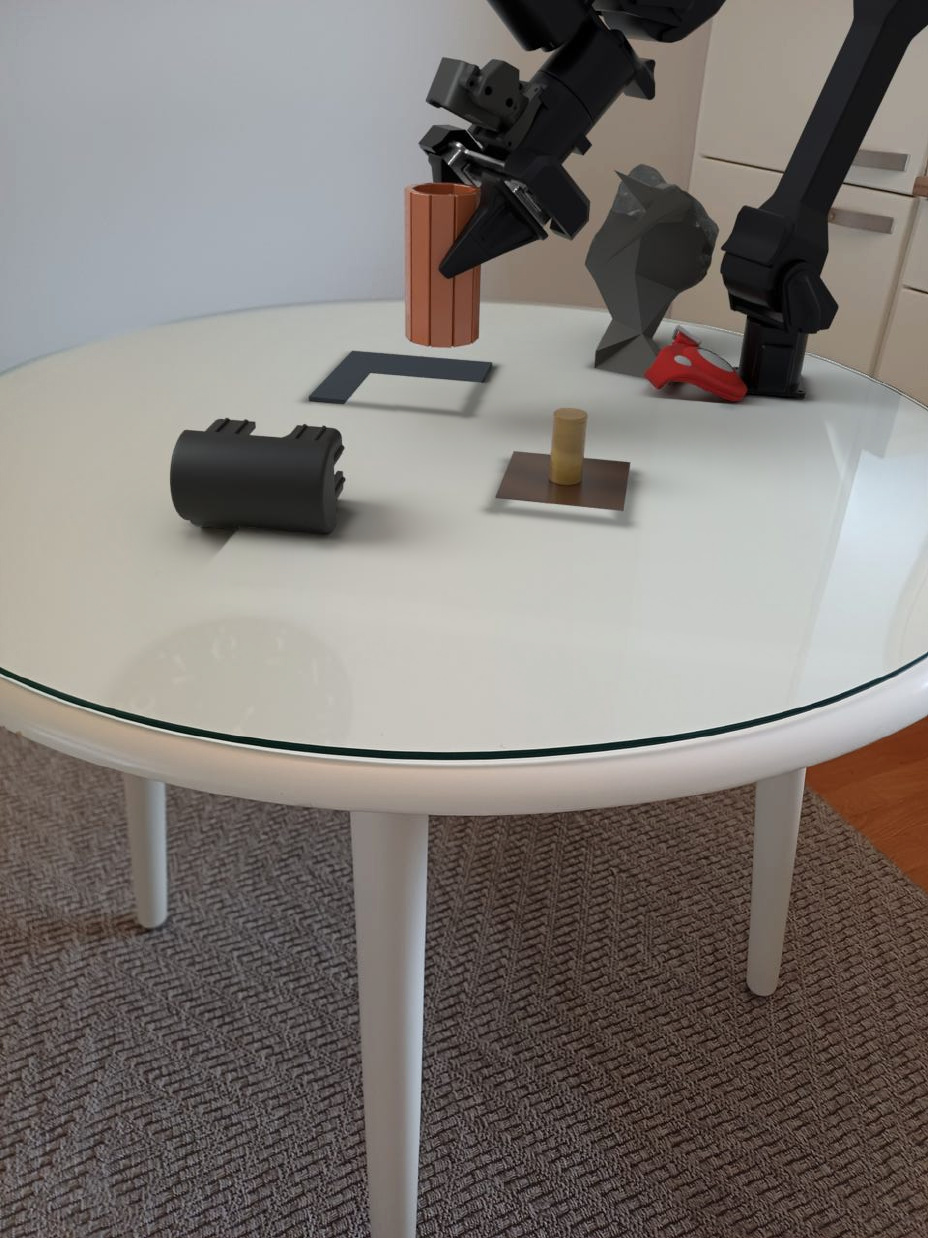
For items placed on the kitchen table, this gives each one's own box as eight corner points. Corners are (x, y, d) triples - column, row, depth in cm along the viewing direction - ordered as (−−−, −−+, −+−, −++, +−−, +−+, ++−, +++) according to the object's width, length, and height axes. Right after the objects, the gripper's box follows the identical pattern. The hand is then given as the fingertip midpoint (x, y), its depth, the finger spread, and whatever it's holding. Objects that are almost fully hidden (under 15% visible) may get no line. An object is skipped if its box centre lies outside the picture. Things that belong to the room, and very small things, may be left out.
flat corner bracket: (352, 354, 107) (352, 350, 107) (492, 366, 105) (492, 361, 105) (308, 400, 95) (308, 396, 95) (465, 414, 93) (465, 410, 93)
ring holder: (512, 462, 84) (516, 387, 81) (629, 473, 83) (637, 398, 80) (494, 510, 77) (497, 429, 74) (622, 523, 75) (631, 441, 72)
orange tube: (434, 322, 89) (435, 179, 83) (492, 336, 86) (497, 188, 80) (390, 337, 85) (388, 188, 79) (450, 352, 82) (452, 198, 76)
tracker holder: (773, 389, 98) (705, 372, 92) (745, 429, 101) (676, 416, 94) (694, 320, 105) (625, 300, 99) (670, 359, 108) (600, 342, 101)
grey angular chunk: (730, 346, 113) (760, 161, 104) (672, 384, 102) (700, 180, 93) (607, 322, 119) (624, 145, 110) (539, 356, 108) (552, 161, 99)
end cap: (175, 544, 71) (163, 446, 67) (213, 500, 77) (203, 408, 73) (324, 558, 70) (320, 459, 66) (351, 512, 76) (348, 419, 72)
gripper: (443, 7, 83) (311, 169, 84) (563, 18, 68) (401, 213, 70) (529, 118, 90) (406, 265, 91) (655, 149, 75) (506, 323, 77)
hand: (426, 265), depth 82 cm, fingers closed on orange tube, 6 cm apart
